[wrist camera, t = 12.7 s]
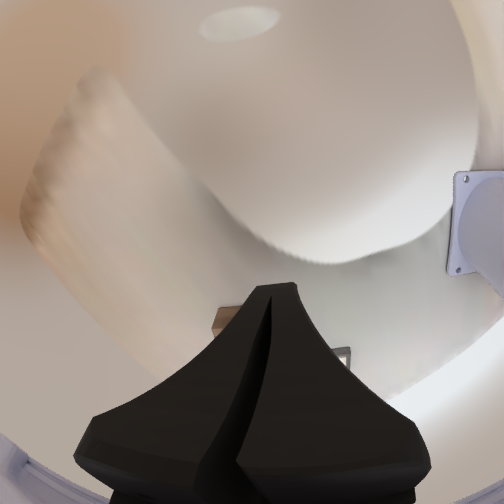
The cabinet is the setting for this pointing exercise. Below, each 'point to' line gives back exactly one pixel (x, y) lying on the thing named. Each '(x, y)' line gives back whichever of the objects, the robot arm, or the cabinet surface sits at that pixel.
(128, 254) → the cabinet surface
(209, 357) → the robot arm
